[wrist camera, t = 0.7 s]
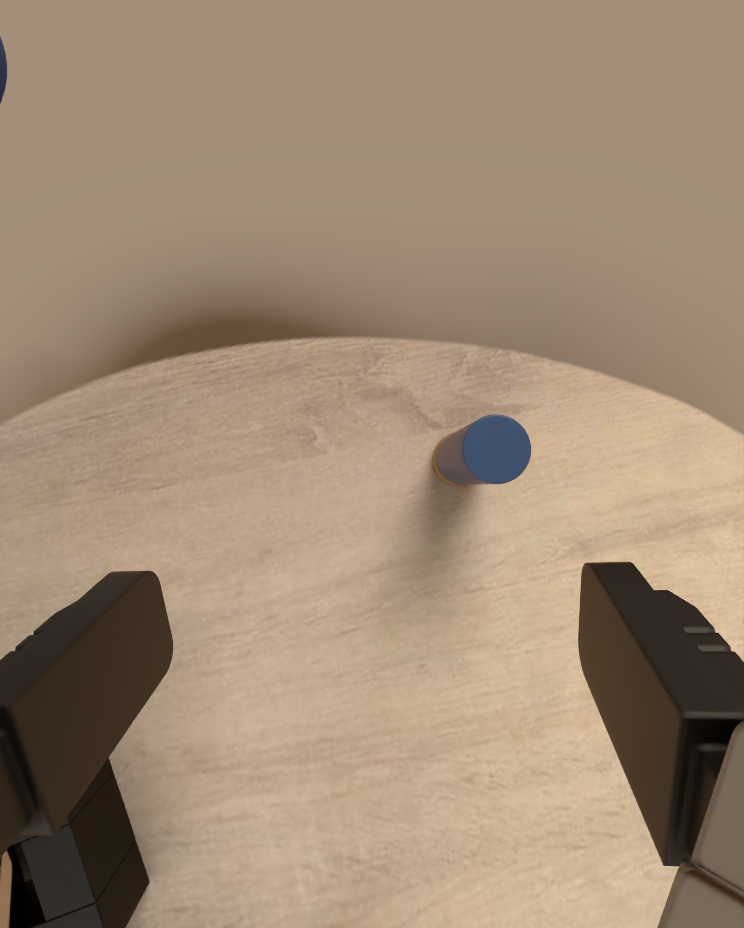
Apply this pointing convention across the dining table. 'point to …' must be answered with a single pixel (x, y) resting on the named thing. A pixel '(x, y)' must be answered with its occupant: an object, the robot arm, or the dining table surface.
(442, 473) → the handle
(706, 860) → the robot arm
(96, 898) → the holder
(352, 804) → the dining table surface
